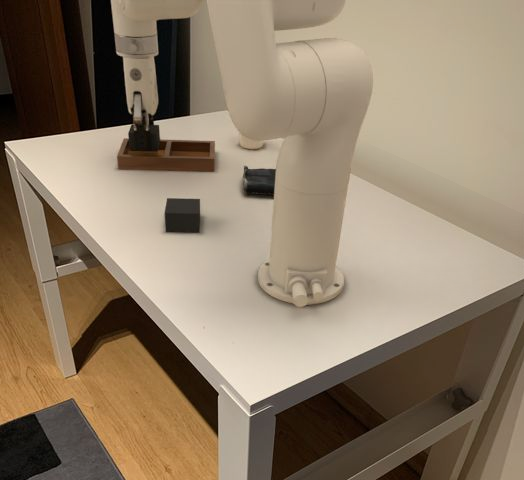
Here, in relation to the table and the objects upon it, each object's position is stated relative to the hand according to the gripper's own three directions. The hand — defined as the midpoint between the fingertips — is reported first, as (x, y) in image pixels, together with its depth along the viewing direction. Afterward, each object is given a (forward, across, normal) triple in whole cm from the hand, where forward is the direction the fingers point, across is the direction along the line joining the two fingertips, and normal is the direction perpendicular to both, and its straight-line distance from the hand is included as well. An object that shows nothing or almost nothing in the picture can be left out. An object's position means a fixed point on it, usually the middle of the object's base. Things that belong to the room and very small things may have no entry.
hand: (145, 144), depth 112 cm
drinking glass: (+4, +10, -22) cm, 24 cm away
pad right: (+3, -28, -9) cm, 29 cm away
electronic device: (+4, -13, -27) cm, 30 cm away
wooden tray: (+3, 0, -4) cm, 6 cm away
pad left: (0, 0, 0) cm, 0 cm away
